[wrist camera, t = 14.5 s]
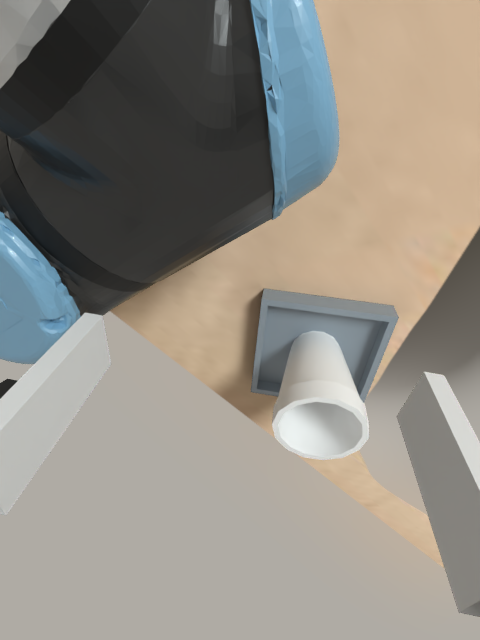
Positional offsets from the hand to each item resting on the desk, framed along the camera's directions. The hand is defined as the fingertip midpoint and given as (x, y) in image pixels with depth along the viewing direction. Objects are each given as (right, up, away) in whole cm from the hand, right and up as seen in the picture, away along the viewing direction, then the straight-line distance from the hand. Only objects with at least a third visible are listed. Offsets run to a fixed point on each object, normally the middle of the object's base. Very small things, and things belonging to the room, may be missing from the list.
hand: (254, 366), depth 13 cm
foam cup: (+9, -2, +29) cm, 31 cm away
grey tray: (+10, -2, +30) cm, 31 cm away
